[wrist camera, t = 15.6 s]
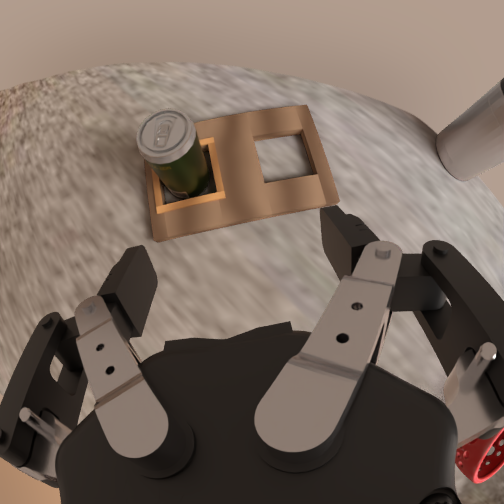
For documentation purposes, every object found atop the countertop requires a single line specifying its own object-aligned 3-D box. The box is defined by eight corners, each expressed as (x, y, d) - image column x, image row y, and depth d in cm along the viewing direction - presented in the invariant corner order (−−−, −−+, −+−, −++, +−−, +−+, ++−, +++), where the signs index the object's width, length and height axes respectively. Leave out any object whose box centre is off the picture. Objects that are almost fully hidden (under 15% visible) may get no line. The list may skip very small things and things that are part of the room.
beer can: (207, 202, 33) (188, 159, 21) (164, 199, 33) (127, 159, 21) (213, 161, 33) (198, 105, 21) (171, 160, 33) (142, 107, 21)
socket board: (304, 110, 34) (307, 103, 33) (336, 204, 33) (340, 200, 31) (146, 142, 33) (141, 136, 32) (157, 242, 32) (153, 240, 30)
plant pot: (425, 439, 29) (466, 471, 17) (476, 378, 30) (524, 395, 19) (447, 465, 28) (481, 493, 16) (492, 413, 30) (531, 430, 18)
